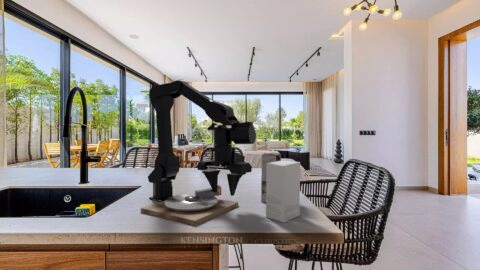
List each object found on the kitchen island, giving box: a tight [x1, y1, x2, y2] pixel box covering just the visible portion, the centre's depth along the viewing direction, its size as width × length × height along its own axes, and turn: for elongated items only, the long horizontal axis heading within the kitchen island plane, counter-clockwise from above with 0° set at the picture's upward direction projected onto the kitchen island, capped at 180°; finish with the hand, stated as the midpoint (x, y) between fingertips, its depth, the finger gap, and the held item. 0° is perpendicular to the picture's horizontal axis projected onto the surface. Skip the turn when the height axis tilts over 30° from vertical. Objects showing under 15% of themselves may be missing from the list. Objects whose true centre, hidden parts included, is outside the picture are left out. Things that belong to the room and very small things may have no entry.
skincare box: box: [265, 159, 301, 223], centre depth 76 cm, size 8×7×16 cm
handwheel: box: [165, 184, 222, 212], centre depth 84 cm, size 19×16×4 cm
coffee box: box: [260, 152, 282, 203], centre depth 96 cm, size 9×6×16 cm
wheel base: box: [140, 198, 239, 226], centre depth 83 cm, size 21×21×1 cm
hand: (223, 194), depth 85 cm, fingers open, 7 cm apart
